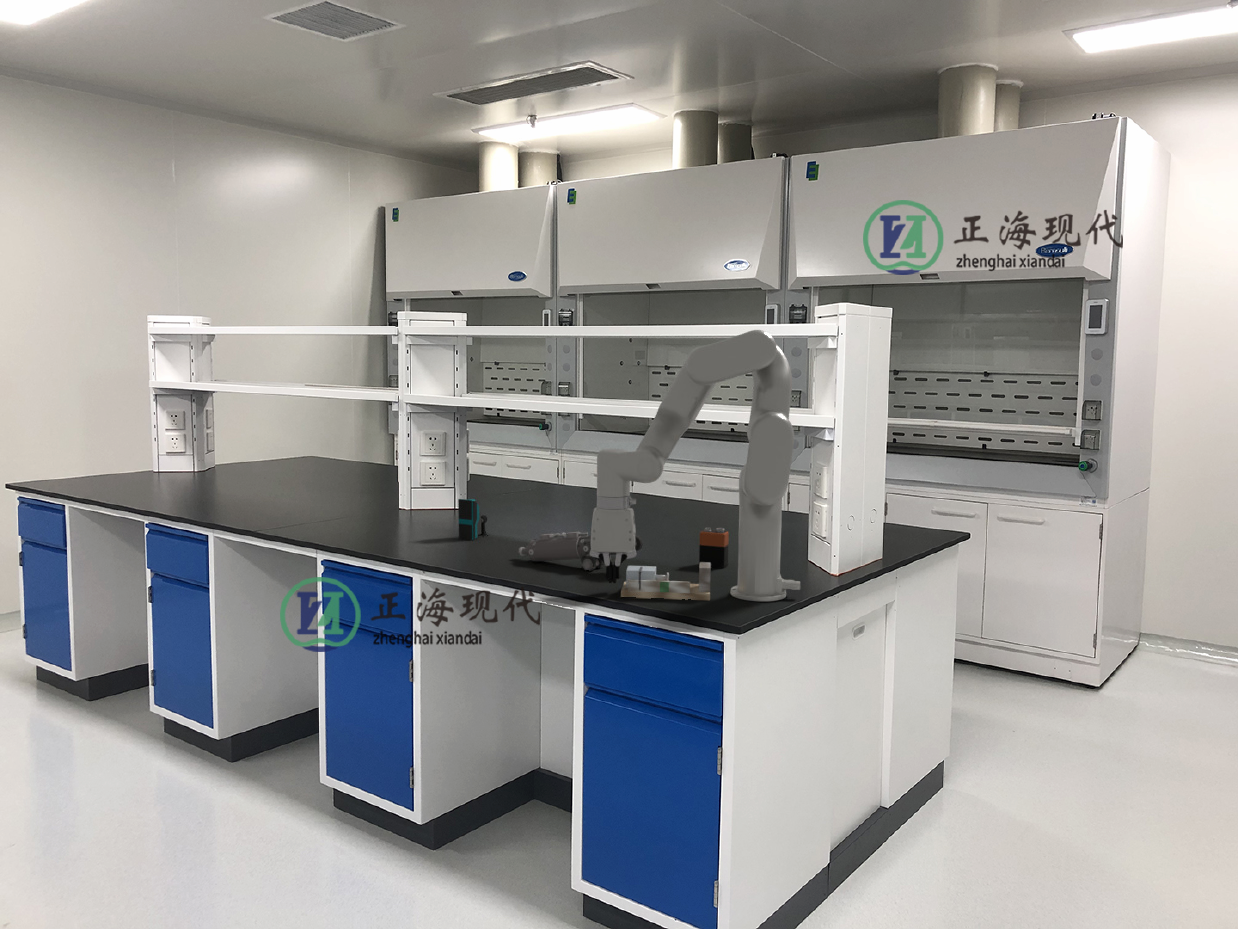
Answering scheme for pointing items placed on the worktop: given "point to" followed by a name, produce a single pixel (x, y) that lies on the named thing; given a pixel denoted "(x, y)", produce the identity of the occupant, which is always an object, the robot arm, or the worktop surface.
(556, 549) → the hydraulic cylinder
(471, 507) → the black teal case
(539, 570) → the worktop surface
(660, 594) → the gauge stand
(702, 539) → the battery
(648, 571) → the force gauge
